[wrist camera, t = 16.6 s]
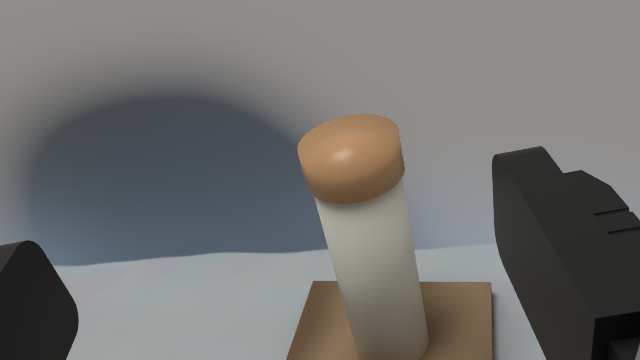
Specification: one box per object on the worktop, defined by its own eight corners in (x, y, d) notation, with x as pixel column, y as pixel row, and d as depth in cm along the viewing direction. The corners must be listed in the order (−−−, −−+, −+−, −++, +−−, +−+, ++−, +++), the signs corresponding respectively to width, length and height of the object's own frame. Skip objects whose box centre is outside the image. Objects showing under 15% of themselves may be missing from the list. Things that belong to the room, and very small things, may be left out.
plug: (345, 372, 32) (285, 169, 25) (359, 309, 36) (311, 118, 29) (429, 377, 31) (391, 163, 23) (435, 311, 34) (404, 110, 27)
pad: (274, 417, 32) (270, 406, 31) (316, 291, 40) (313, 280, 39) (494, 437, 28) (493, 425, 28) (491, 293, 36) (491, 282, 35)
